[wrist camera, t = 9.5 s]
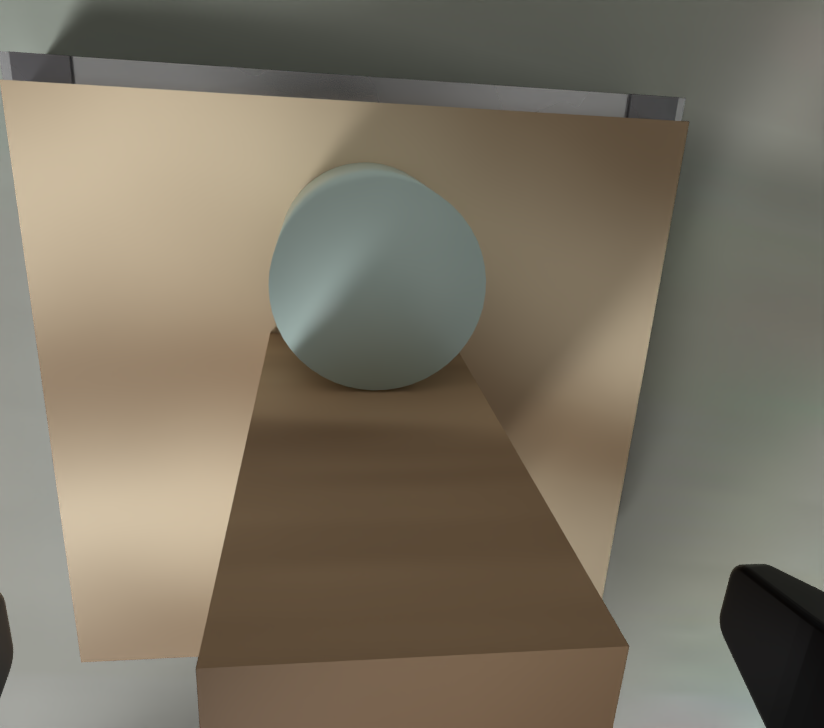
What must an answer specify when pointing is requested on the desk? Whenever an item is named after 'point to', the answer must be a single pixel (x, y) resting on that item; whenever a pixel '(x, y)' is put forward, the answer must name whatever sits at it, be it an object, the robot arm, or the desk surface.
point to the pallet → (204, 297)
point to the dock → (331, 86)
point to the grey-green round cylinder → (375, 278)
